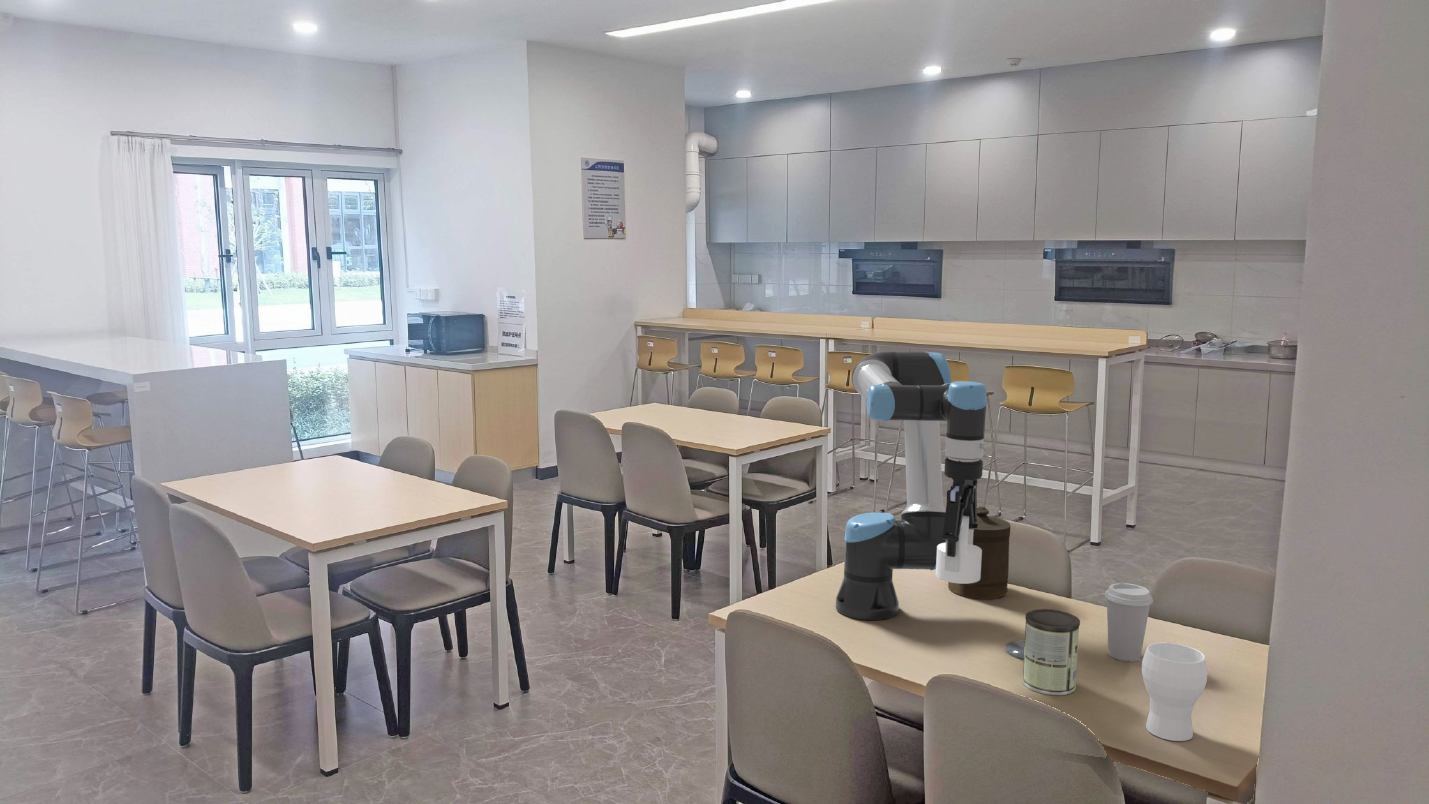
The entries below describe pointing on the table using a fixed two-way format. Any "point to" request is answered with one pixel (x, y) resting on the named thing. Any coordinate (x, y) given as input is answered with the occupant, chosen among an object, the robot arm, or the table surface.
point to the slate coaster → (1016, 649)
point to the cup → (1173, 688)
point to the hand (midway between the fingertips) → (958, 564)
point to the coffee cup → (1127, 620)
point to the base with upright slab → (961, 559)
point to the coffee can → (1050, 651)
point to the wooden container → (989, 558)
